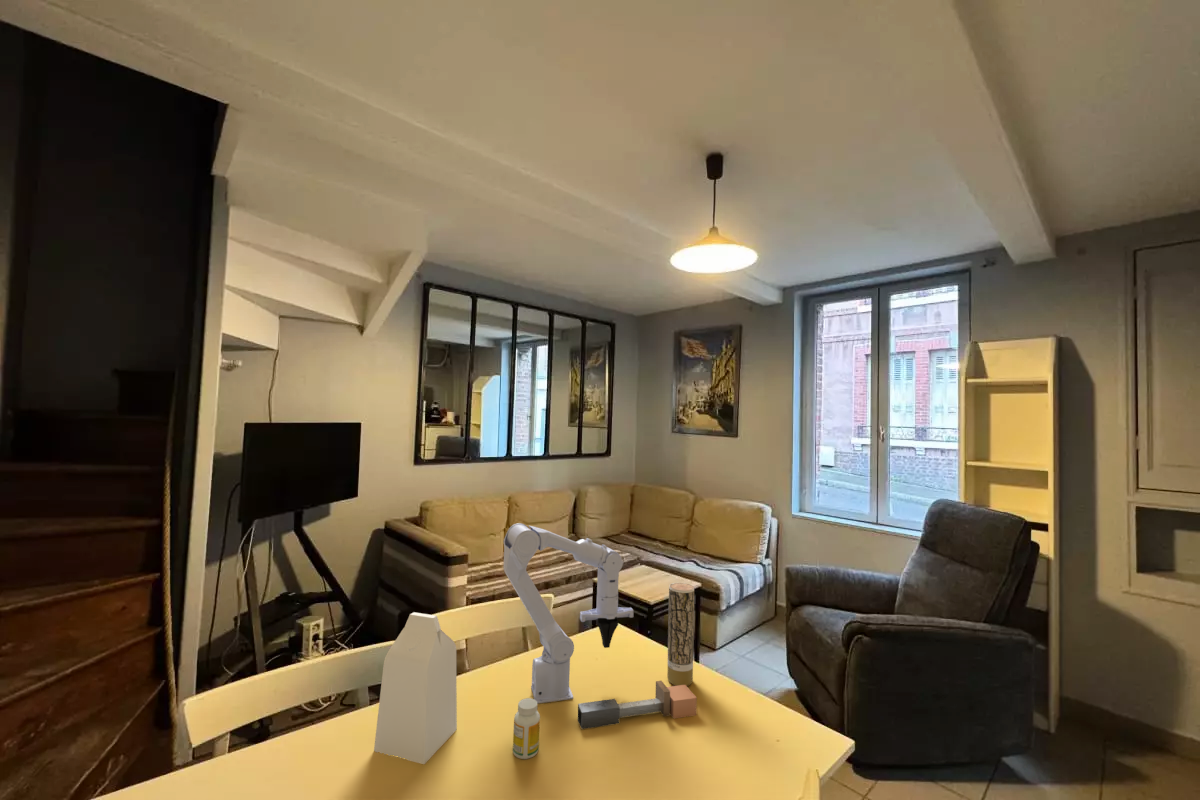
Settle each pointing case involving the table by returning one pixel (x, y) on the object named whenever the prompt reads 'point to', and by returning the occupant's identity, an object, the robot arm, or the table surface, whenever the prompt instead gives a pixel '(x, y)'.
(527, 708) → the supplement bottle
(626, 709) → the tube
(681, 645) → the brown cylindrical piece
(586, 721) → the sleeve
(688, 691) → the socket block
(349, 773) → the table surface
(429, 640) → the milk
